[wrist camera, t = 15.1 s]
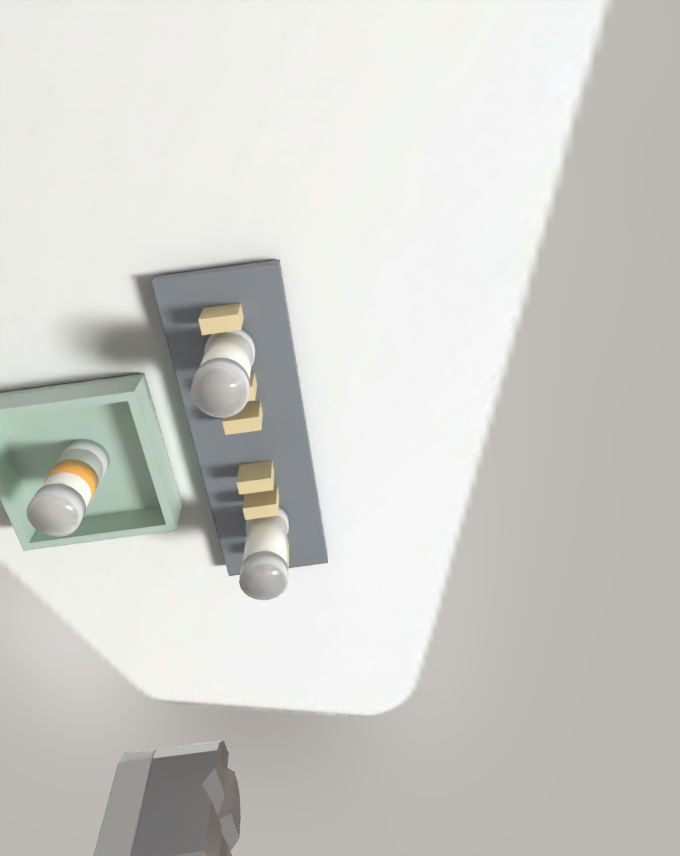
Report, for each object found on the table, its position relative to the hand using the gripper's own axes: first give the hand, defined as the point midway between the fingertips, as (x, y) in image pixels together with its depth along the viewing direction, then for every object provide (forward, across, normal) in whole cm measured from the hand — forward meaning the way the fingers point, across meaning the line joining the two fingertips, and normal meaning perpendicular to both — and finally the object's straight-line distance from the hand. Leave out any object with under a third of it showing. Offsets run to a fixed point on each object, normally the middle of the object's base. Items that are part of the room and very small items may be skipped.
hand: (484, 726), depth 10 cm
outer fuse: (+33, +8, +19) cm, 39 cm away
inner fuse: (+33, +8, +5) cm, 34 cm away
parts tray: (+34, +20, +12) cm, 41 cm away
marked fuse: (+34, +20, +12) cm, 41 cm away
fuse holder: (+34, +8, +12) cm, 37 cm away
